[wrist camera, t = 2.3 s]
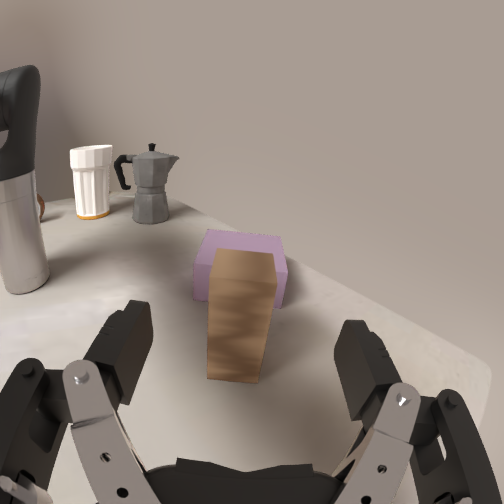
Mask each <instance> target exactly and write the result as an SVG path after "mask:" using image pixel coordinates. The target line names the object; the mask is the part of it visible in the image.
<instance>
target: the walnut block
mask: <svg viewBox="0 0 504 504" xmlns="http://www.w3.org/2000/svg"><path fill="white" fill-rule="evenodd" d="M277 284H278V283H277V276H276V269H275V263H274V256H273V253H263V252H253V251H243V250H233V249H223V248H217V250H216V253H215V257H214V261H213V265H212V268H211V272H210V276H209V298H208V341H207V379H214V380H223V381H234V382H247V383H258V378H259V374H260V369H261V364H262V360H263V355H264V350H265V345H266V340H267V335H268V330H269V326H270V320H271V315H272V310H273V305H274V300H275V295H276V289H277Z"/></svg>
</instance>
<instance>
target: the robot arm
mask: <svg viewBox="0 0 504 504" xmlns="http://www.w3.org/2000/svg"><path fill="white" fill-rule="evenodd" d="M40 86H41V85H40V74H39V71H38V69H37V68H36V67H35V66H33V65H27V66H22V67H18V68H15V69H11V70H8V71H5V72H1V73H0V132H1V131H5V130H9V132H8V137H7V140H6V142H5V144H4V145H3V147H2V148H1V149H0V272H1V275H2V279H3V282H4V285H5V288H6V290H7V291H8V292H10V293H14V294H22V293H27V292H30V291H33V290H35V289H37V288H38V287H40V286H41V285H43V284H44V283H45V282H46V281H47V279H48V278H49V275H50V271H49V267H48V262H47V258H46V253H45V248H44V242H43V237H42V231H41V225H40V218H39V211H38V203H37V193H36V184H35V170H34V169H35V166H34V157H35V145H36V124H37V123H36V122H37V114H38V106H39V97H40ZM152 342H153V326H152V319H151V311H150V305H149V303H148V302H142V301H136V300H130V301H129V302H128V304H127V306H126V307H125V309H124V311H121V310H117V311H116V312H115V313H113V314H112V315H110V316H109V317H108V319H107V320H106V322H105V324H104V326H103V327H102V328H101V330H100V332H99V334H98V335H97V336H96V338H95V340H94V341H93V343H92V345H91V346H90V348H89V350H88V351H87V353H86V355H85V356H84V358H83V360H77V361H74V362H72V363H70V364H69V365H68V366H67V367H66V368H65V369H64V370H51V369H45V368H44V366H43V364H42V363H41V362H40V361H39V360H38V359H35V358H27V359H24V360H22V361H21V362H19V363H18V364H17V365H16V367H15V368H14V370H13V372H12V373H11V375H10V377H9V378H8V380H7V382H6V384H5V385H4V387H3V389H2V391H1V393H0V504H53V501H52V499H51V497H50V495H49V494H48V493H47V489H48V485H49V481H50V478H51V474H52V471H53V467H54V464H55V461H56V457H57V454H58V451H59V448H60V445H61V442H62V439H63V436H64V433H65V431H66V428H67V425H68V423H73V425H71V433H72V436H73V440H74V443H75V446H76V449H77V452H78V455H79V458H80V460H81V463H82V466H83V468H84V471H85V473H86V476H87V478H88V481H89V483H90V485H91V488H92V490H93V492H94V494H95V496H96V499H97V501H98V503H96V504H391V503H392V501H393V498H394V496H395V494H396V492H397V490H398V487H399V485H400V483H401V480H402V478H403V475H404V473H405V470H406V468H407V465H408V462H409V461H410V465H411V469H412V473H413V477H414V482H415V486H416V491H417V495H418V500H419V504H502V500H501V497H500V493H499V489H498V486H497V482H496V479H495V476H494V473H493V470H492V467H491V464H490V461H489V458H488V456H487V453H486V450H485V448H484V445H483V443H482V440H481V438H480V436H479V433H478V431H477V428H476V426H475V424H474V421H473V419H472V417H471V415H470V412H469V410H468V408H467V406H466V404H465V402H464V400H463V398H462V396H461V395H460V394H459V393H458V392H456V391H454V390H451V389H445V390H442V391H441V392H440V393H439V394H438V396H437V397H436V398H435V397H426V396H420V395H419V393H418V391H417V390H416V389H415V388H414V387H413V386H411V385H409V384H407V383H403V382H402V380H401V378H400V376H399V374H398V372H397V370H396V368H395V365H394V363H393V361H392V359H391V357H389V356H390V355H389V353H388V351H387V350H386V347H385V345H384V343H383V341H382V339H380V338H379V337H378V336H377V335H376V334H375V333H374V332H370V331H369V329H368V327H367V325H366V323H365V321H364V320H346V321H345V322H344V324H343V327H342V329H341V332H340V335H339V337H338V340H337V342H336V345H335V348H334V360H335V364H336V367H337V371H338V374H339V377H340V381H341V384H342V388H343V391H344V395H345V398H346V402H347V406H348V409H349V413H350V417H351V420H352V421H356V420H362V423H363V425H362V426H361V428H360V430H359V432H358V433H357V435H356V437H355V439H354V441H353V443H352V444H351V446H350V448H349V450H348V451H347V453H346V455H345V457H344V458H343V460H342V461H341V463H340V464H339V466H338V467H337V468H336V469H335V471H334V472H333V473H332V475H331V476H330V475H327V474H324V473H321V472H317V471H313V467H312V464H301V465H280V466H275V467H271V468H266V469H262V470H257V471H252V472H241V471H238V470H234V469H230V468H227V467H224V466H220V465H217V464H214V463H211V462H203V461H196V460H189V459H182V458H177V462H176V465H166V466H161V467H157V468H154V469H151V470H149V471H147V470H146V468H145V466H144V464H143V463H142V461H141V459H140V457H139V456H138V454H137V452H136V450H135V448H134V447H133V445H132V443H131V440H130V438H129V436H128V434H127V432H126V430H125V428H124V426H123V423H122V421H121V419H120V417H119V414H118V412H117V410H118V407H119V404H120V403H121V404H125V405H129V404H130V401H131V398H132V396H133V393H134V390H135V387H136V385H137V382H138V379H139V377H140V374H141V371H142V369H143V366H144V363H145V361H146V358H147V356H148V353H149V350H150V348H151V345H152ZM440 435H441V438H442V441H443V444H444V447H445V450H446V459H445V461H444V458H443V454H442V451H441V448H440V445H439V442H438V439H437V438H438V437H439V436H440Z"/></svg>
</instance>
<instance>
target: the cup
mask: <svg viewBox="0 0 504 504" xmlns="http://www.w3.org/2000/svg"><path fill="white" fill-rule="evenodd" d="M111 159H112V145H98V146H87V147H80V148H75V149H71V150H70V163H71V168H72V170H73V178H74V190H75V200H76V209H77V217H79V218H80V219H84V220H91V219H97V218H101V217H104V216H106V215H108V214H109V212H110V211H109V165H110V164H111V162H112V161H111Z"/></svg>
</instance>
